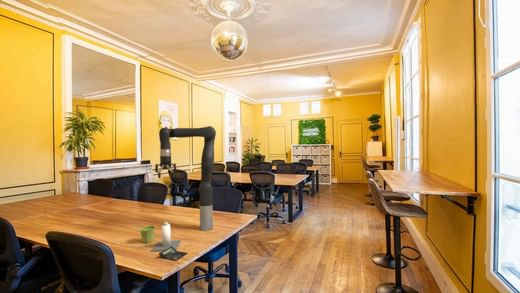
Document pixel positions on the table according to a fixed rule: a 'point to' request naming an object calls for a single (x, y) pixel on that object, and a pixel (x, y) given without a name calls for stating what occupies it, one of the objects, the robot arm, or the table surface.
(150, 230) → the plant pot
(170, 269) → the table surface
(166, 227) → the bottle
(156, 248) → the mat
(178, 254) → the calculator
